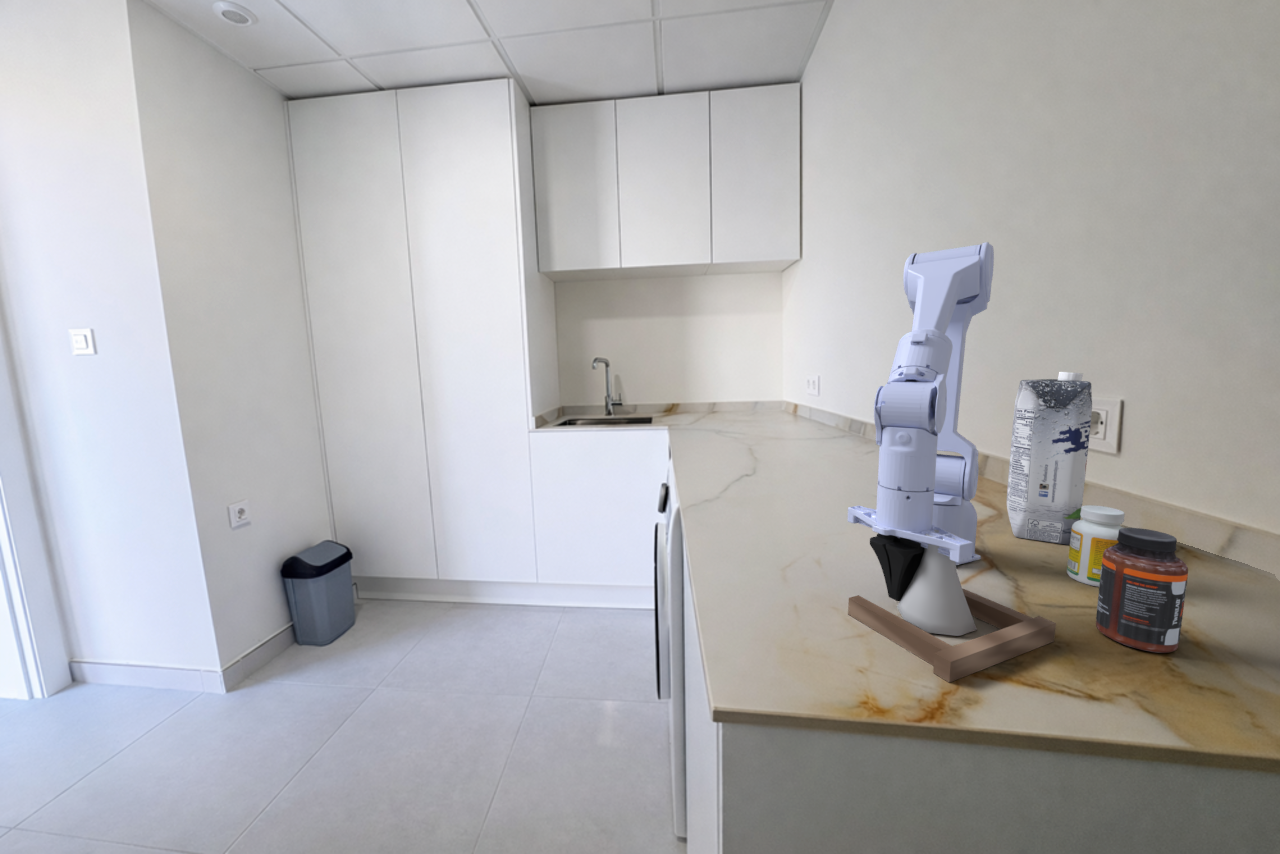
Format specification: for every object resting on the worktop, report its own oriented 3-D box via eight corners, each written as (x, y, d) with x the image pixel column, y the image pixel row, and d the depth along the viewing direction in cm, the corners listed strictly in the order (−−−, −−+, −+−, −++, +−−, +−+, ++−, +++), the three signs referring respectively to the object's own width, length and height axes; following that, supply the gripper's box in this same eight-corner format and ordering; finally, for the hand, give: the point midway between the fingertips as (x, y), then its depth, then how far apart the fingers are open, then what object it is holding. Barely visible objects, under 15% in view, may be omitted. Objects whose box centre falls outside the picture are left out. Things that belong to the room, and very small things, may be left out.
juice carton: (1007, 538, 77) (1021, 372, 73) (1003, 520, 85) (1016, 371, 82) (1081, 549, 72) (1099, 372, 68) (1069, 529, 80) (1085, 371, 77)
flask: (991, 636, 49) (999, 545, 48) (925, 640, 49) (931, 548, 48) (942, 602, 56) (948, 522, 55) (884, 605, 56) (889, 524, 55)
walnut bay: (937, 589, 60) (938, 574, 59) (1054, 641, 48) (1056, 622, 48) (841, 616, 54) (842, 599, 53) (949, 682, 42) (950, 662, 42)
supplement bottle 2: (1196, 660, 45) (1212, 546, 43) (1119, 651, 46) (1132, 541, 45) (1148, 627, 50) (1161, 526, 49) (1081, 620, 52) (1092, 521, 51)
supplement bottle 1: (1057, 575, 63) (1064, 506, 62) (1081, 568, 65) (1088, 501, 64) (1108, 592, 58) (1116, 517, 57) (1133, 585, 60) (1142, 512, 59)
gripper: (831, 476, 59) (827, 578, 61) (943, 506, 46) (934, 636, 47) (872, 471, 62) (867, 569, 63) (989, 498, 48) (979, 621, 50)
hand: (899, 597), depth 56 cm, fingers closed
